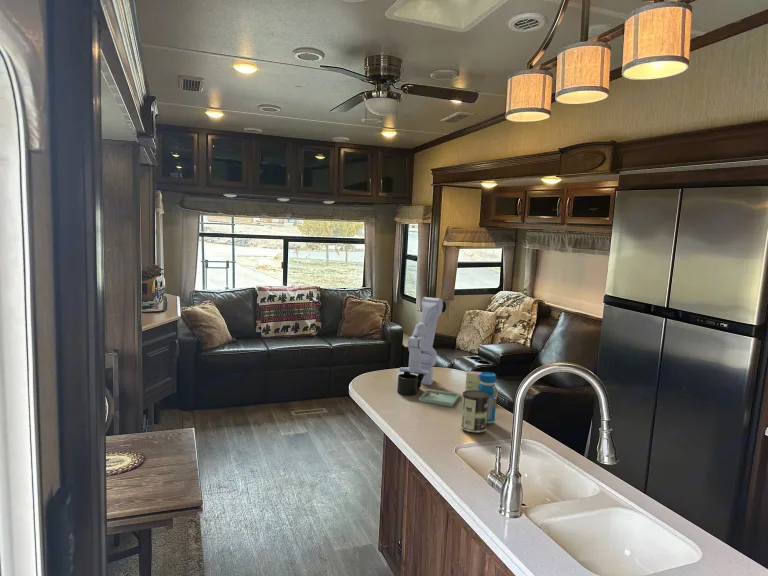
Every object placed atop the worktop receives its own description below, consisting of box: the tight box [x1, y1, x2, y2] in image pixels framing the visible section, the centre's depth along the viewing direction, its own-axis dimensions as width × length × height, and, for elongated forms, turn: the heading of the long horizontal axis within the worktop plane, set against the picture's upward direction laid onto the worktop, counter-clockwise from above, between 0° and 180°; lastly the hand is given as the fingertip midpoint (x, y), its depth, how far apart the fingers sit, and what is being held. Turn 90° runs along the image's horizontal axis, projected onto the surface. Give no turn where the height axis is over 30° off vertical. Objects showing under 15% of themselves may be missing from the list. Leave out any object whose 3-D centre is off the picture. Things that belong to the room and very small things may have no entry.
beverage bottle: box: [477, 371, 498, 424], centre depth 216 cm, size 8×8×20 cm
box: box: [464, 370, 482, 391], centre depth 248 cm, size 10×6×12 cm, turn 84°
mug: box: [396, 373, 422, 397], centre depth 247 cm, size 9×12×9 cm
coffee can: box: [460, 390, 489, 433], centre depth 207 cm, size 10×10×14 cm
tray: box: [418, 388, 461, 408], centre depth 242 cm, size 16×16×2 cm
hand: (413, 387), depth 253 cm, fingers closed on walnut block, 5 cm apart
